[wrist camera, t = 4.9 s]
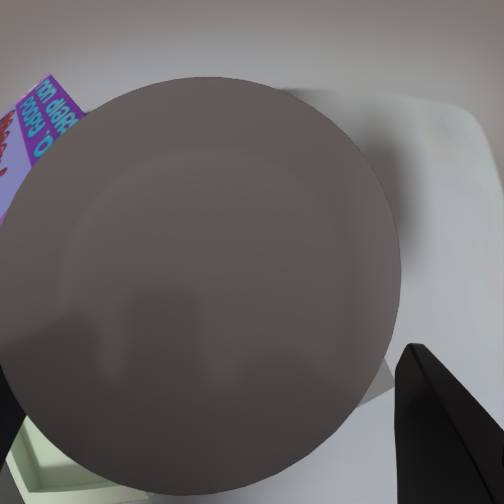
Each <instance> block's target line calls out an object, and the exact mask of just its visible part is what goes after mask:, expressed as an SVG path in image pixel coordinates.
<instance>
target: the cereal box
mask: <svg viewBox="0 0 504 504" xmlns="http://www.w3.org/2000/svg"><path fill="white" fill-rule="evenodd" d="M84 116H86V115H85V114H84V113H83V112H82V110H81V109H80V108H79V107H78V106H77V105H76V103H75V102H74V101H73V100H72V99H71V98H70V97H69V95H68V94H67V93H66V92H65V91H64V89H63V88H62V87H61V86H60V85H59V83H58V82H57V81H56V80H55V79H54V78H53V76H52V75H51V74H50V73H49V74H48V75H46V76H45V77H44V78H43V79H42V80H40V81H39V82H38V83H37V84H36V85H34V86H33V87H32V88H31V89H30V90H29V91H28V92H27V93H25V94H24V95H23V96H22V97H21V98H20V99H19V100H18V101H17V102H16V103H15V104H14V105H13V106H12V107H11V108H10V109H9V110H7V111H6V113H4V115H2V116H1V118H0V228H1V226H2V223H3V220H4V217H5V215H6V212H7V210H8V208H9V206H10V204H11V202H12V200H13V198H14V196H15V194H16V192H17V190H18V188H19V187H20V185H21V183H22V182H23V180H24V179H25V177H26V175H27V174H28V172H29V171H30V170H31V168H32V167H33V166H34V164H35V163H36V162H37V161H38V159H39V158H40V157H41V155H42V154H43V153H44V152H45V151H46V150H47V149H48V148H49V147H50V146H51V145H52V144H53V142H54V141H55V140H56V139H57V138H58V137H60V136H61V135H62V134H63V133H64V132H65V131H66V130H68V129H69V128H70V127H71V126H72V125H73V124H75V123H76V122H77V121H79V120H80V119H82V118H83V117H84Z"/></svg>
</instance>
